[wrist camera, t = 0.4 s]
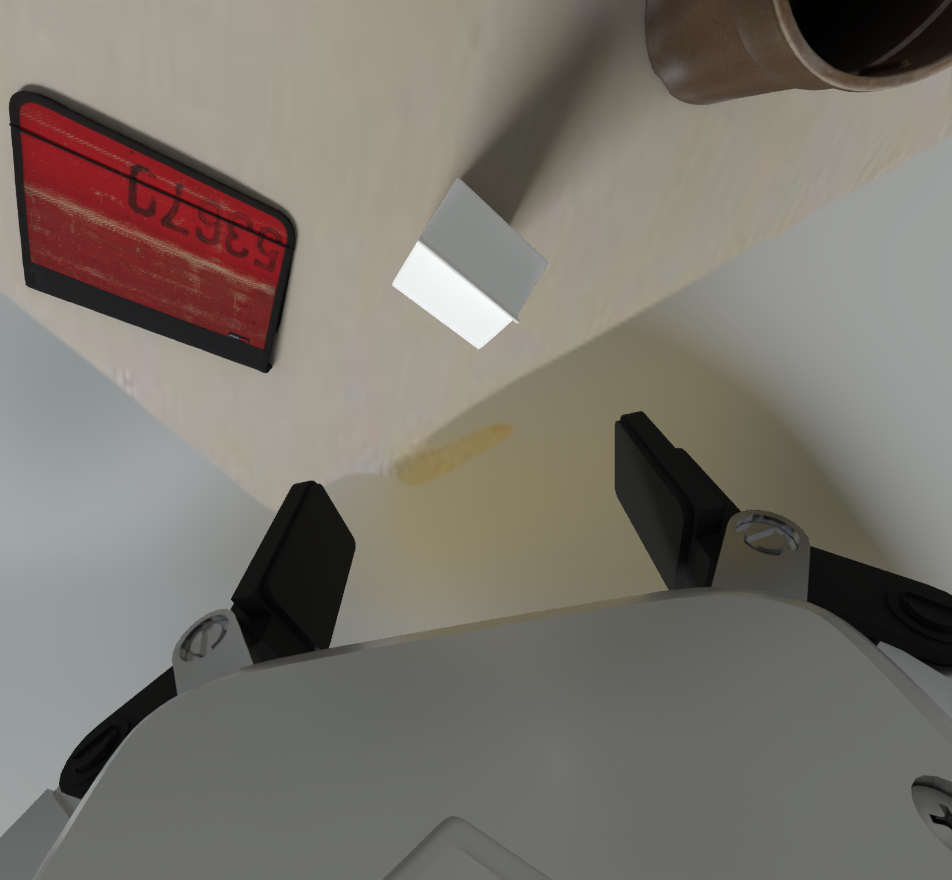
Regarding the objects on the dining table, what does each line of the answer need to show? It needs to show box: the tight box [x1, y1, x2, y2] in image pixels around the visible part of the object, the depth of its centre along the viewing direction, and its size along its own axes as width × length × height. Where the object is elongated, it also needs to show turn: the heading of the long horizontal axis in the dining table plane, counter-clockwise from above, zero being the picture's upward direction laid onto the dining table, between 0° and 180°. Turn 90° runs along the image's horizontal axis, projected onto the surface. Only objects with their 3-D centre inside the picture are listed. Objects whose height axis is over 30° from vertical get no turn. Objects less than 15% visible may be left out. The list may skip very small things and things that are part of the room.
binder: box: [9, 91, 295, 373], centre depth 34 cm, size 16×2×21 cm
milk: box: [392, 178, 548, 349], centre depth 26 cm, size 6×6×22 cm
